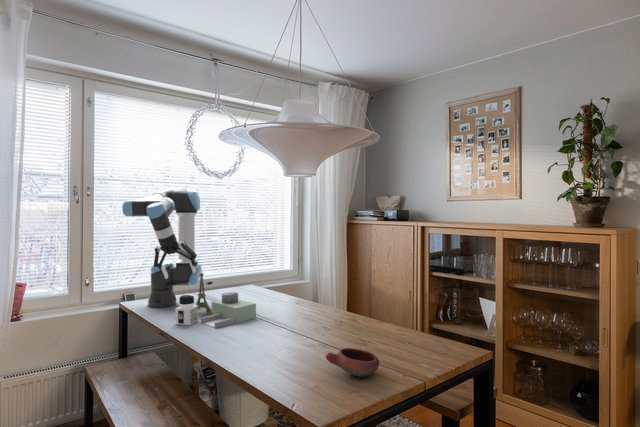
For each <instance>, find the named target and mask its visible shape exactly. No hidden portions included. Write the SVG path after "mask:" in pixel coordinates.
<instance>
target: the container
mask: <svg viewBox="0 0 640 427" xmlns="http://www.w3.org/2000/svg"><path fill="white" fill-rule="evenodd" d="M178 299H179V306H178V307H175V309H174V310H175V311H174V312H175V315H174V316H175V321H174V322H175V323H174V324H175V325H178V326H181V325H182V326H191V325H193V324H195V323H197V322H198V321H199V310H198V305H196V304H195V296H194V295H192V294H184V295H181V296H179V298H178Z"/></svg>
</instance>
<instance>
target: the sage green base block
mask: <svg viewBox="0 0 640 427" xmlns="http://www.w3.org/2000/svg"><path fill="white" fill-rule="evenodd" d="M211 310H212V315H210V316H208V315H207V316H204V317H201V318H200V323H201V324H202V325H205V326H208V327H211V328H215V329H218V328H222V327H227V326H231V325H233V324H237V323H241V322H245V321H248V320H253V319H256V318H257V304H256V303H254V302H251V301H247V300H242V299H239V293H238V292H235V291H231V292H230V291H229V292H224V293H222V294H221V299H219V300H214V301H211Z"/></svg>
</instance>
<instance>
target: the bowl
mask: <svg viewBox="0 0 640 427" xmlns="http://www.w3.org/2000/svg"><path fill="white" fill-rule="evenodd" d="M325 359H326V360H327V361H328V362H329V363H331V364H332V365H334V366H337V367H338V368H340V369H342V370H344V371H345V372H346V373H347V374H349V375H352V376H355V377H358V378H359V377H361V378H362V377H367V376H370V375H372V374H375V373H376V371H377V370H378V369H379V367H380V360H379V358H378V356H377V355H376V354H375V353H373V352H371V351H369V350H368V351H367V350H364V349H358V348H354V347H353V348H350V347H348V348H347V347H345V348H341V349H340V350H338V352H337V353H333V352H328V353H326V354H325Z"/></svg>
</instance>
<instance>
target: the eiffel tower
mask: <svg viewBox="0 0 640 427" xmlns="http://www.w3.org/2000/svg"><path fill="white" fill-rule="evenodd" d="M200 265H201V264H200ZM198 292H199V293H198V294H197V298H198V299H197V301H196V302H195V303H196V304H195V305H198V311H200V309H203V308H204V309H206V310H205V311H206V313H207V316H209V315H210V316H212V312H211V311H212V308H210V306H209V304H208V303H209V302H207V299H206V293H205V285H204V273H203V266H202V265H201V273H200V279H199V291H198ZM202 299H203V301H201V300H202Z"/></svg>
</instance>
